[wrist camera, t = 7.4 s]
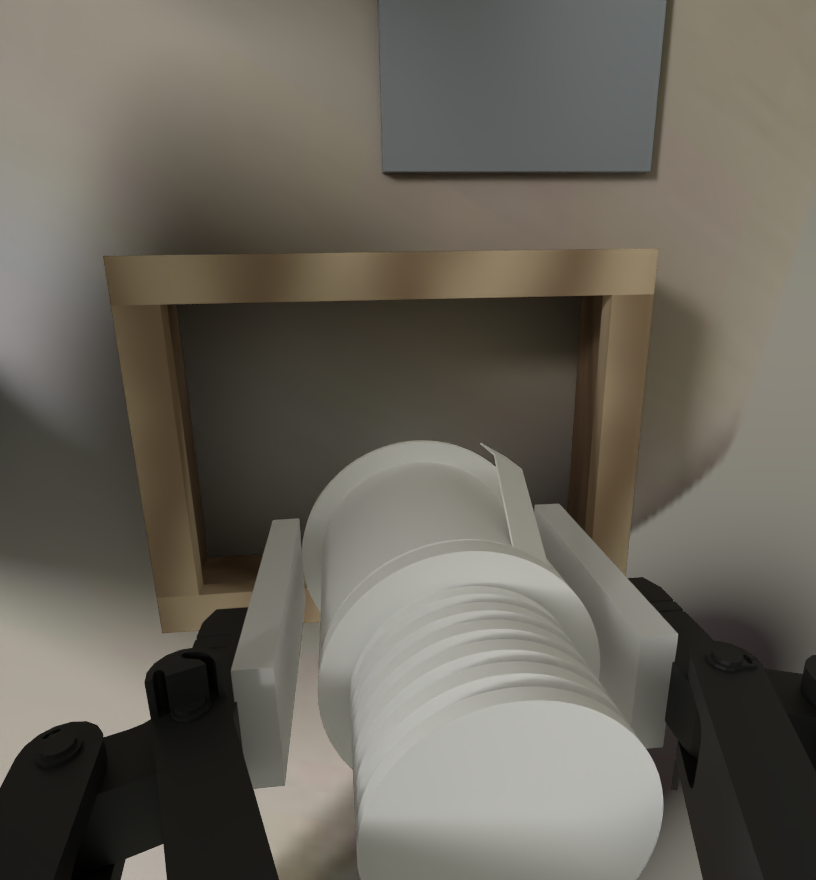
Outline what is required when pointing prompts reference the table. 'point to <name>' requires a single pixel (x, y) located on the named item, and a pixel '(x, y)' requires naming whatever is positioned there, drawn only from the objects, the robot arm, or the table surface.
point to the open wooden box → (368, 278)
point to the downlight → (467, 680)
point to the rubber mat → (519, 85)
